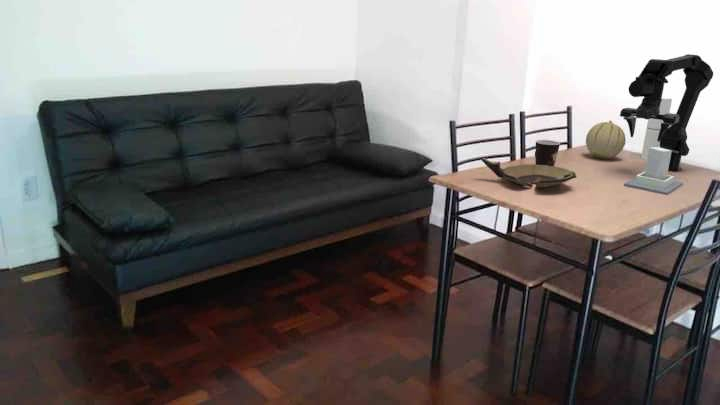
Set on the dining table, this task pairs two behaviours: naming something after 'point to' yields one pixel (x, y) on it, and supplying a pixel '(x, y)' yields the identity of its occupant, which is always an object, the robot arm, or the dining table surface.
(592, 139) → the cantaloupe
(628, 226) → the dining table surface
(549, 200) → the dining table surface
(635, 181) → the collar board
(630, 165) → the dining table surface
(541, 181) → the oil lamp
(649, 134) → the white tall block
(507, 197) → the dining table surface
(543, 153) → the coffee mug
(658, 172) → the skincare box
